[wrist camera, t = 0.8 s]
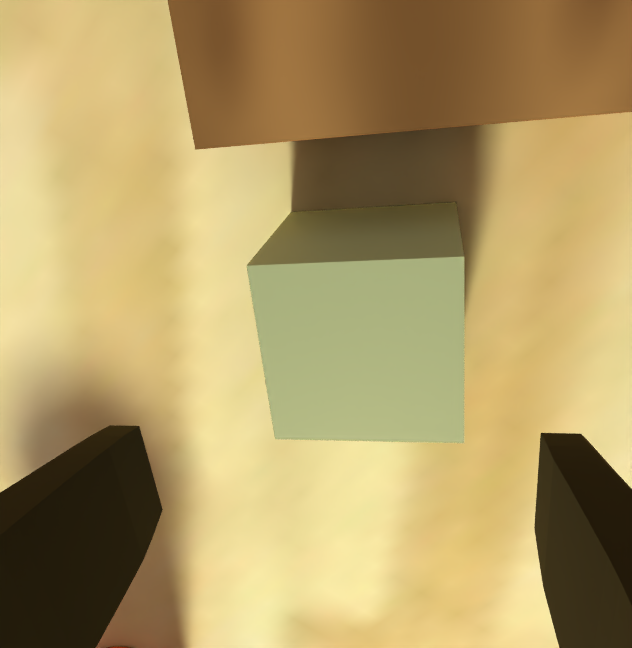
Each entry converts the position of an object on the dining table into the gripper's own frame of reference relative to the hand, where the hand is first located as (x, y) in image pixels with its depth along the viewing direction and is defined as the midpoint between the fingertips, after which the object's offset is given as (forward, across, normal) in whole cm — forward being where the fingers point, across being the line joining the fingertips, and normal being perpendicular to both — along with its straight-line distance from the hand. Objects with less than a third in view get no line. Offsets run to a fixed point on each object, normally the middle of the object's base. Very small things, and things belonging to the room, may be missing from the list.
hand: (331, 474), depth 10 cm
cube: (+9, 0, 0) cm, 9 cm away
